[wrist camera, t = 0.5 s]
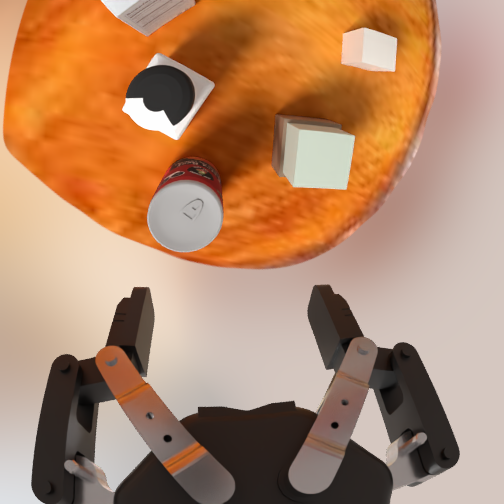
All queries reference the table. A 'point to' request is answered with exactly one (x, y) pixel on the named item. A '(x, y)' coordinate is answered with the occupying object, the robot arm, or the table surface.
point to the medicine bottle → (166, 96)
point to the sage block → (317, 156)
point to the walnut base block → (281, 136)
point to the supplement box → (147, 12)
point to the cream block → (369, 50)
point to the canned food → (187, 206)
